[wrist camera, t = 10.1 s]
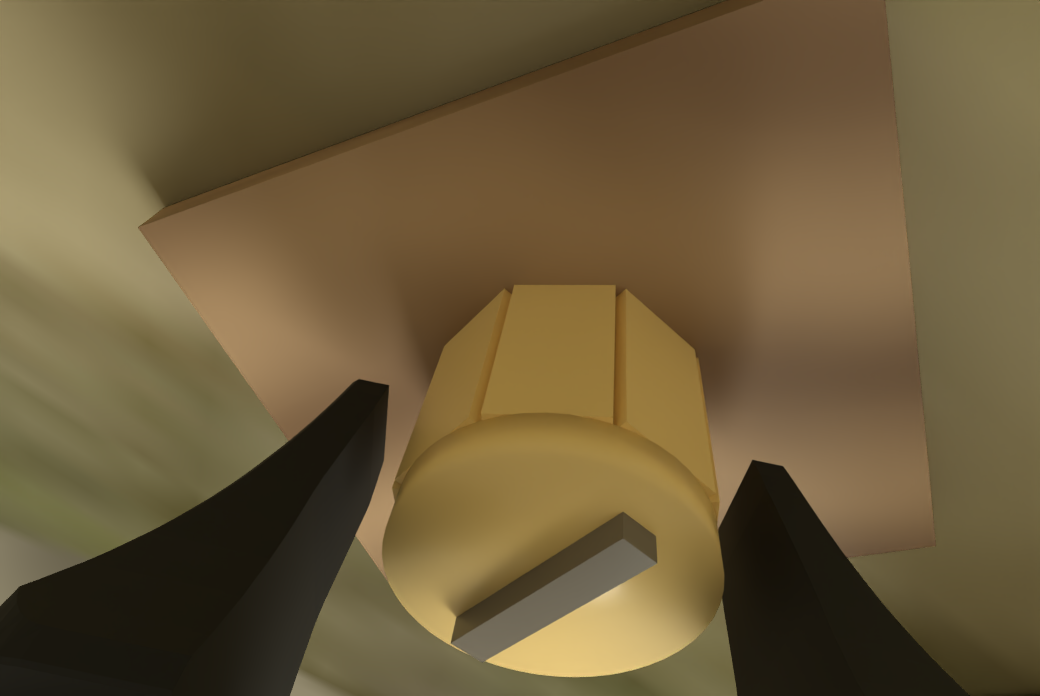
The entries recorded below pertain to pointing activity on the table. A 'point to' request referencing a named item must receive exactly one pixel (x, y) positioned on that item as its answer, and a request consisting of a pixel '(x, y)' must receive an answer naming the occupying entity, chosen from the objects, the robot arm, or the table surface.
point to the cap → (560, 488)
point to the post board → (612, 248)
